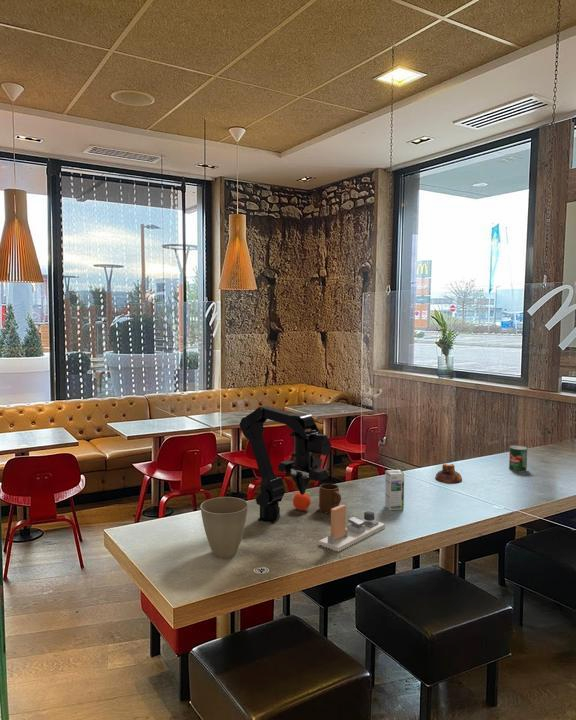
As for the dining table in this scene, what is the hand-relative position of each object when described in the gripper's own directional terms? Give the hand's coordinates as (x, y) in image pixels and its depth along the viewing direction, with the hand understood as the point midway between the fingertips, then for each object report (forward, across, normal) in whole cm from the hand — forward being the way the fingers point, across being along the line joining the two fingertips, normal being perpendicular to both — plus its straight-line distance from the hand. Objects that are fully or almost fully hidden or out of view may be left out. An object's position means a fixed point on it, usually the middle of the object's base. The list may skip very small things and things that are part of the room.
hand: (302, 494), depth 198 cm
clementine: (+13, +13, -15) cm, 24 cm away
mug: (+13, +4, -21) cm, 25 cm away
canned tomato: (+13, -27, -127) cm, 131 cm away
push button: (+10, -16, -18) cm, 26 cm away
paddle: (+10, -16, 0) cm, 19 cm away
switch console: (+13, -16, -8) cm, 22 cm away
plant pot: (+13, +6, +31) cm, 34 cm away
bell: (+14, -10, -90) cm, 91 cm away
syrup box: (+13, -12, -41) cm, 45 cm away
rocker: (+9, -16, -10) cm, 21 cm away
